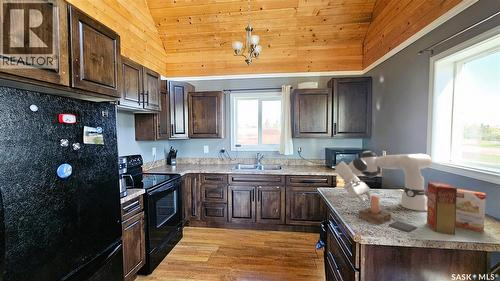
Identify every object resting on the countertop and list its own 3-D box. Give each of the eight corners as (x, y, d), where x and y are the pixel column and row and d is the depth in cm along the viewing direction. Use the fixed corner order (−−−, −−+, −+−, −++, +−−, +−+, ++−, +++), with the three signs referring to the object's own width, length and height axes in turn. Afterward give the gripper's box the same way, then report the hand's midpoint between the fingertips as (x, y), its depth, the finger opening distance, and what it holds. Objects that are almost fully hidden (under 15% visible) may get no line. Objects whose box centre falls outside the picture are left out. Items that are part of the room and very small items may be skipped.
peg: (372, 216, 141) (373, 195, 140) (380, 219, 137) (380, 197, 137) (368, 218, 139) (369, 196, 138) (376, 220, 135) (376, 198, 134)
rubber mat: (397, 222, 133) (397, 220, 133) (416, 228, 125) (416, 226, 125) (388, 225, 128) (389, 224, 128) (408, 232, 119) (408, 230, 119)
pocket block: (369, 213, 147) (370, 207, 147) (390, 220, 136) (391, 213, 136) (358, 217, 140) (358, 211, 140) (379, 224, 129) (379, 218, 129)
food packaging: (425, 222, 132) (427, 181, 131) (445, 225, 129) (446, 183, 128) (434, 232, 120) (436, 186, 119) (456, 235, 117) (458, 188, 116)
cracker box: (449, 224, 130) (451, 189, 129) (450, 221, 134) (451, 187, 133) (484, 232, 120) (486, 194, 119) (483, 229, 124) (485, 192, 123)
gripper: (356, 182, 156) (370, 199, 149) (341, 187, 143) (356, 206, 136) (363, 177, 152) (378, 194, 145) (348, 181, 139) (364, 201, 132)
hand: (367, 200), depth 140 cm, fingers open, 8 cm apart
